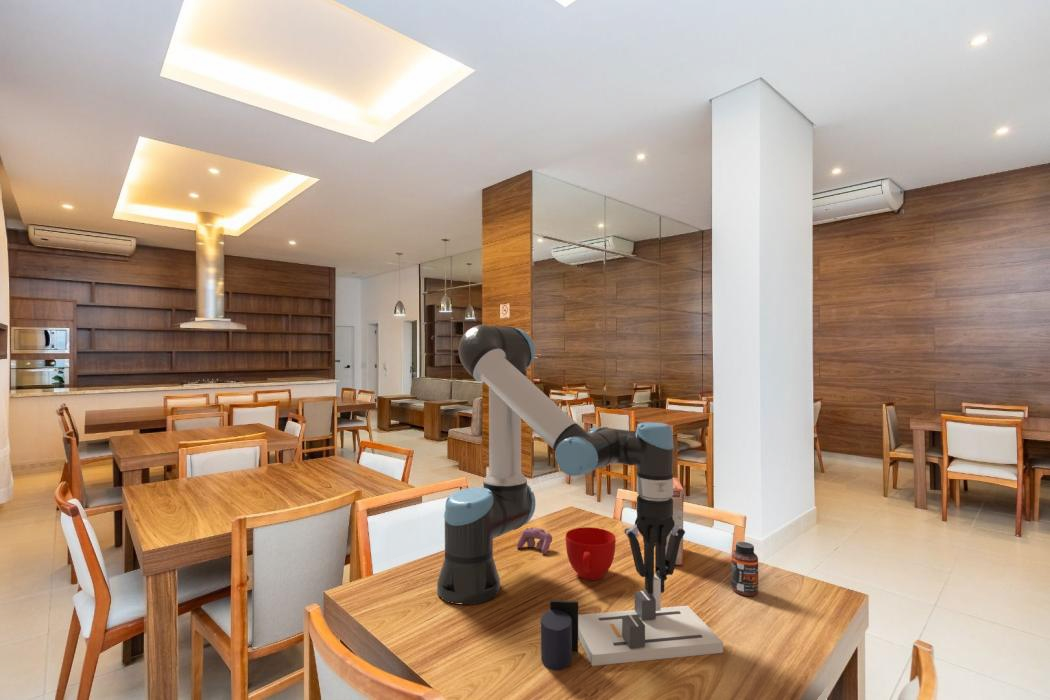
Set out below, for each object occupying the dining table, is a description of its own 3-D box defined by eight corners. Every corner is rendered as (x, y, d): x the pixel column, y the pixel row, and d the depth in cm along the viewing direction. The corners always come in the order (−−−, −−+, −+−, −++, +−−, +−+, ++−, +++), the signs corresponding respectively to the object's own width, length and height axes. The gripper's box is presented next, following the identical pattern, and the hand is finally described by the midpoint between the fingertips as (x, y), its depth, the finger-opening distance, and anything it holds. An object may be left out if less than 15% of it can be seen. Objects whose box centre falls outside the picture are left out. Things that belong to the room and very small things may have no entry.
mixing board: (592, 665, 89) (592, 654, 89) (572, 624, 103) (572, 614, 103) (723, 652, 93) (723, 641, 93) (687, 614, 107) (687, 605, 107)
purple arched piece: (550, 557, 142) (555, 532, 145) (544, 554, 139) (549, 529, 142) (521, 550, 147) (526, 526, 150) (514, 547, 144) (520, 523, 147)
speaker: (551, 642, 96) (551, 592, 95) (578, 651, 94) (579, 600, 93) (535, 668, 90) (535, 614, 88) (564, 678, 87) (565, 623, 86)
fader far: (642, 620, 101) (642, 600, 101) (634, 610, 105) (634, 591, 105) (655, 619, 101) (655, 599, 101) (647, 609, 105) (647, 590, 105)
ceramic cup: (559, 589, 119) (559, 548, 119) (569, 561, 135) (569, 525, 135) (613, 596, 116) (613, 553, 116) (616, 566, 132) (616, 529, 132)
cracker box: (684, 566, 132) (684, 489, 133) (661, 564, 133) (661, 487, 134) (679, 547, 146) (678, 476, 146) (658, 545, 147) (658, 475, 147)
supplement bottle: (745, 599, 114) (744, 550, 114) (725, 588, 120) (725, 541, 120) (764, 594, 117) (763, 547, 117) (744, 584, 122) (744, 538, 122)
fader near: (629, 648, 91) (629, 626, 91) (622, 636, 95) (622, 615, 95) (645, 647, 91) (645, 625, 92) (636, 634, 96) (636, 613, 96)
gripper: (632, 502, 99) (632, 619, 99) (692, 500, 101) (691, 614, 101) (619, 492, 107) (619, 601, 106) (675, 490, 109) (674, 596, 108)
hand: (654, 607), depth 104 cm, fingers closed
